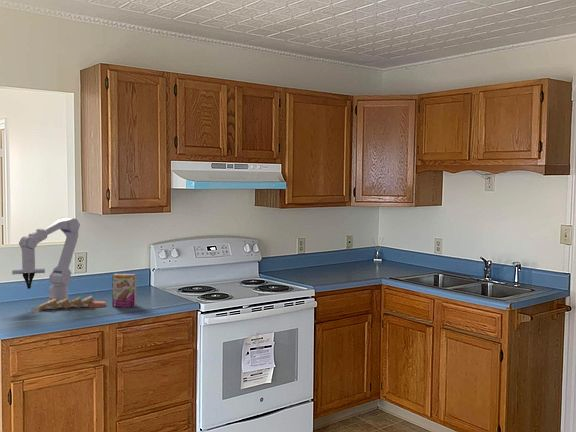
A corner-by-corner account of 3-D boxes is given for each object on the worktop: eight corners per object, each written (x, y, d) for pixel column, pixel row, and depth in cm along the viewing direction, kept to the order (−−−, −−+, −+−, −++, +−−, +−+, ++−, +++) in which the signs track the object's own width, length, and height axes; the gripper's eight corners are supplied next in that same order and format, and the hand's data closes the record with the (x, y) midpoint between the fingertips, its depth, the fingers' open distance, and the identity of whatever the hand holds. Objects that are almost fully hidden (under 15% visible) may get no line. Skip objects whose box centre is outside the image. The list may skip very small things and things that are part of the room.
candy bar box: (112, 307, 292) (111, 275, 291) (114, 305, 297) (114, 273, 296) (134, 307, 293) (134, 275, 292) (136, 305, 298) (136, 273, 297)
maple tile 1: (38, 307, 281) (55, 300, 284) (39, 304, 286) (55, 298, 288) (40, 310, 282) (57, 303, 284) (40, 308, 286) (57, 301, 289)
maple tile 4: (76, 304, 287) (91, 297, 289) (76, 302, 292) (91, 295, 294) (77, 308, 288) (93, 301, 290) (78, 305, 292) (93, 298, 294)
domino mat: (30, 314, 277) (30, 313, 277) (31, 308, 288) (31, 307, 288) (94, 309, 287) (94, 308, 287) (93, 304, 298) (93, 303, 298)
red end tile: (89, 303, 289) (105, 303, 293) (87, 301, 294) (104, 301, 297) (88, 307, 289) (105, 307, 293) (87, 305, 294) (104, 305, 297)
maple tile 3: (63, 305, 285) (79, 298, 287) (64, 303, 290) (79, 296, 292) (65, 309, 286) (81, 302, 288) (65, 307, 290) (81, 299, 293)
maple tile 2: (51, 306, 283) (67, 299, 286) (51, 304, 288) (67, 297, 290) (52, 310, 284) (69, 303, 286) (53, 307, 288) (69, 301, 291)
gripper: (11, 262, 279) (12, 290, 280) (44, 261, 284) (44, 288, 285) (12, 260, 285) (13, 287, 286) (44, 259, 291) (45, 286, 291)
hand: (29, 288), depth 286 cm, fingers closed
